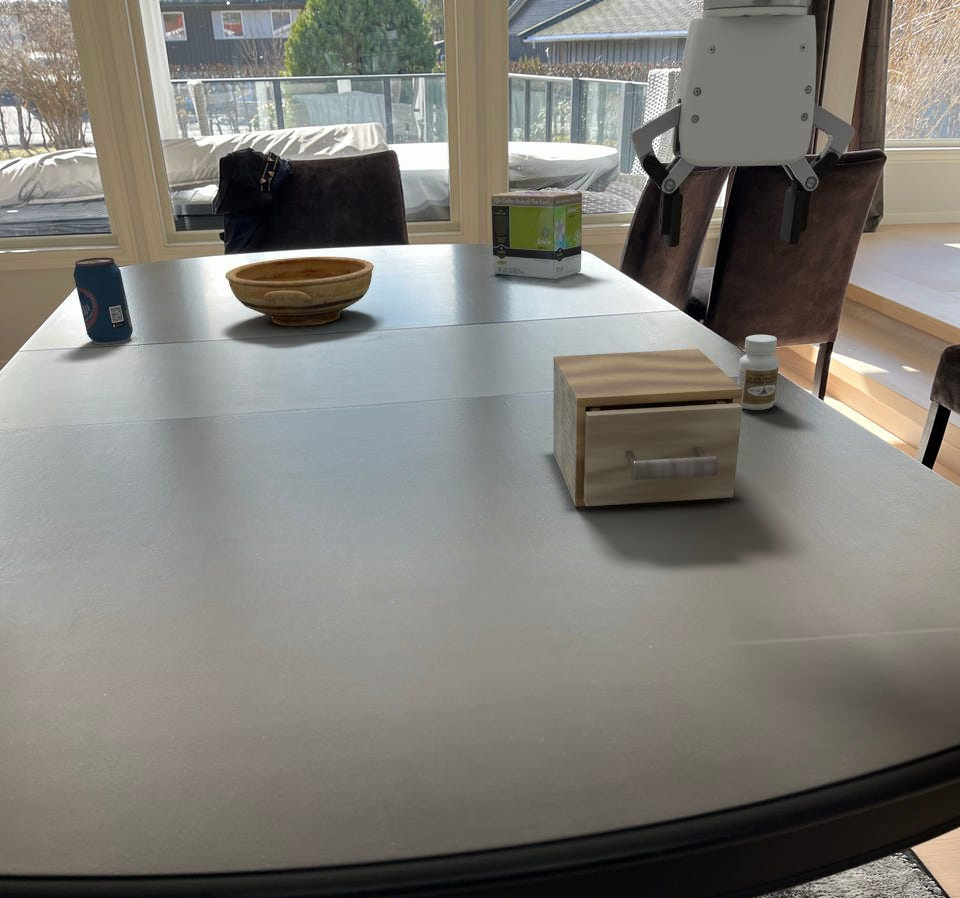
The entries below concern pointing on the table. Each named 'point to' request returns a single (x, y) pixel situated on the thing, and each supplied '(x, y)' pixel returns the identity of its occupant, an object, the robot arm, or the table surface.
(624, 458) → the drawer
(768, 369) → the pill bottle
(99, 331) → the soda can
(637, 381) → the cabinet
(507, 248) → the tea box
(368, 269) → the ceramic bowl
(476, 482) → the table surface
